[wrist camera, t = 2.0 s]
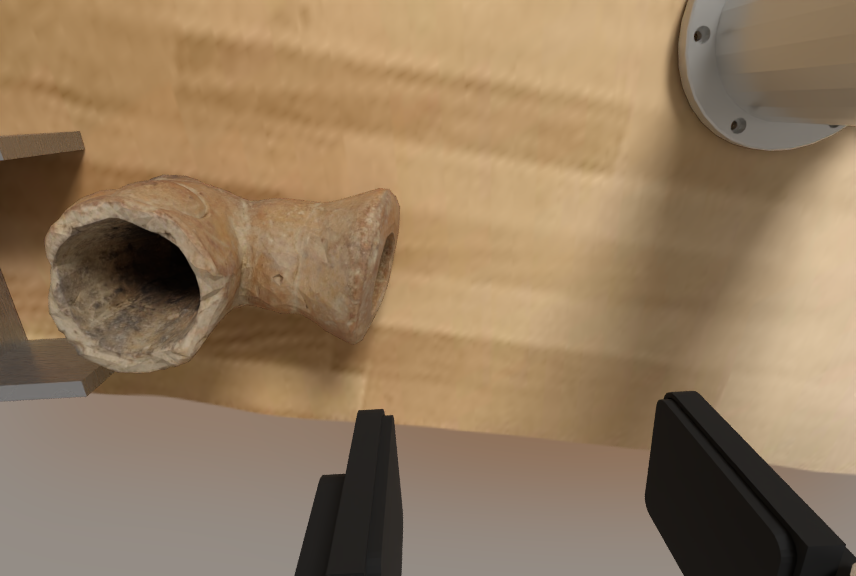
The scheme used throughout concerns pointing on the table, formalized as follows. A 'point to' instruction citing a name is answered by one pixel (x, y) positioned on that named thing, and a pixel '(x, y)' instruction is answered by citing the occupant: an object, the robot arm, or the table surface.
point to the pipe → (210, 266)
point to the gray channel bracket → (3, 333)
